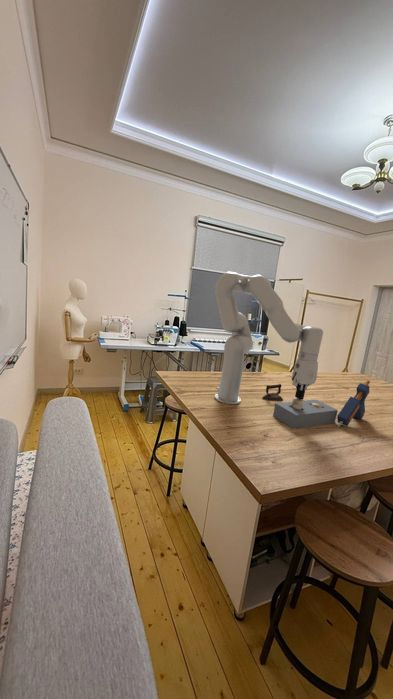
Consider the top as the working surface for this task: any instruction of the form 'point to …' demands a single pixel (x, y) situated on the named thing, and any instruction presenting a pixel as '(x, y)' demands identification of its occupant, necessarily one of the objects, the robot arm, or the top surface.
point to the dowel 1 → (297, 403)
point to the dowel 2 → (316, 405)
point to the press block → (305, 414)
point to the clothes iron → (273, 395)
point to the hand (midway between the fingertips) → (299, 398)
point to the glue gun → (354, 405)
